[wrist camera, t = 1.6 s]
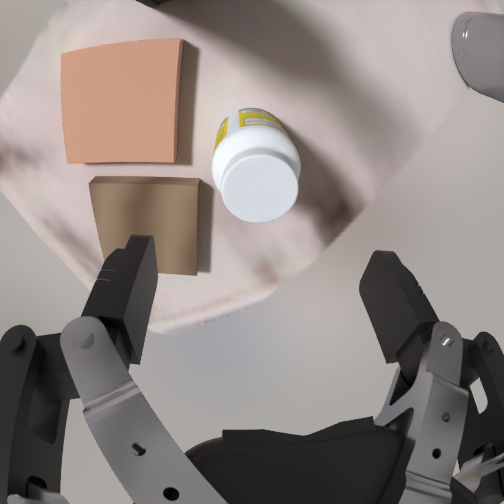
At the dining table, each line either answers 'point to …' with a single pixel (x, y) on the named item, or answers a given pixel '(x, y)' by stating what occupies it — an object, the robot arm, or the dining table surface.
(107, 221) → the walnut mat
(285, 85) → the dining table surface
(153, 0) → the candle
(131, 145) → the terracotta tile
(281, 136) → the supplement bottle
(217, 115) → the dining table surface
